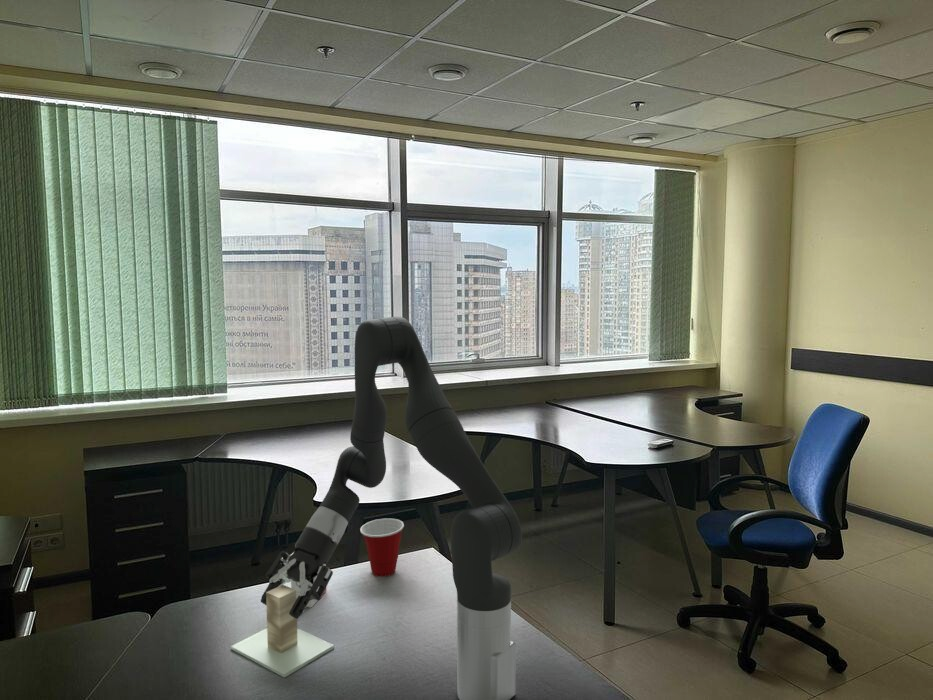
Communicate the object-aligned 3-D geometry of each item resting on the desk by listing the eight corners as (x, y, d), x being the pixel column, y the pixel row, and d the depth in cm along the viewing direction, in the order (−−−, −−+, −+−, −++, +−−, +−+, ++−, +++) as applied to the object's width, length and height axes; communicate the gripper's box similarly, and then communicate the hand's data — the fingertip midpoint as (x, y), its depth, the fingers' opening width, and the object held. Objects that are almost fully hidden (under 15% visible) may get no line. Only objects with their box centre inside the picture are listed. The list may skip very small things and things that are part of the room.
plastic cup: (355, 567, 164) (354, 521, 163) (396, 560, 169) (395, 515, 167) (367, 585, 154) (366, 536, 153) (410, 576, 159) (410, 529, 158)
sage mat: (334, 648, 127) (334, 645, 127) (284, 677, 117) (284, 674, 117) (281, 623, 136) (281, 620, 136) (231, 649, 127) (231, 646, 126)
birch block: (297, 644, 127) (296, 590, 126) (281, 653, 124) (279, 597, 123) (284, 637, 130) (282, 584, 129) (267, 646, 126) (266, 592, 125)
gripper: (288, 518, 135) (243, 592, 127) (336, 533, 127) (291, 613, 119) (309, 535, 140) (266, 607, 132) (356, 550, 132) (314, 628, 124)
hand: (278, 610), depth 125 cm, fingers open, 8 cm apart
